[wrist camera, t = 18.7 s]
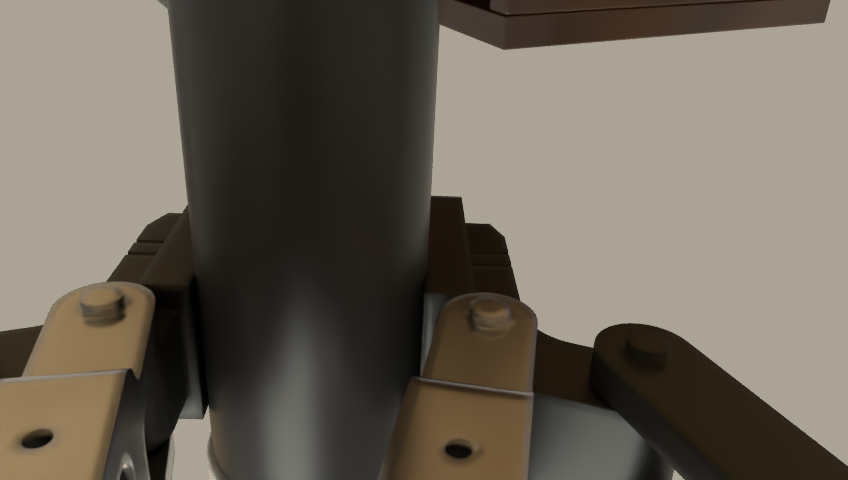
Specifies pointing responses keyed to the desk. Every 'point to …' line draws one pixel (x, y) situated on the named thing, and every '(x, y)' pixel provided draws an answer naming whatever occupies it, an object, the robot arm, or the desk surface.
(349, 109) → the bottle
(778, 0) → the cabinet
